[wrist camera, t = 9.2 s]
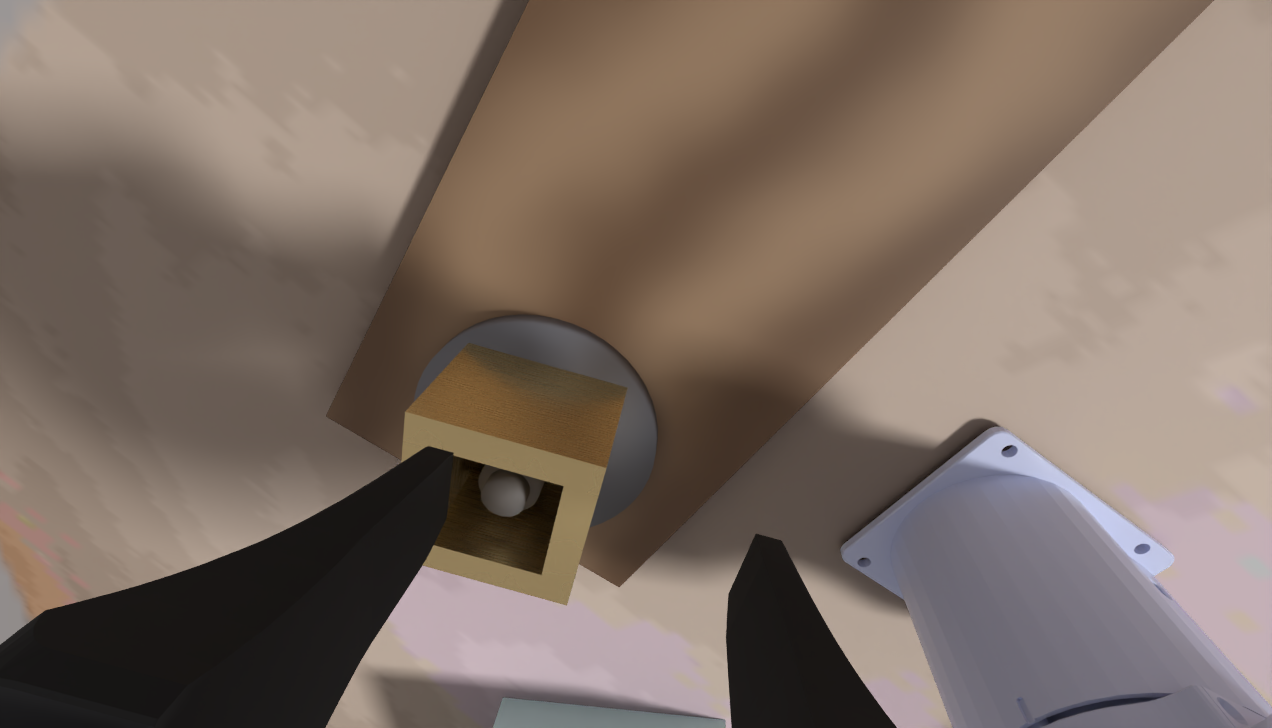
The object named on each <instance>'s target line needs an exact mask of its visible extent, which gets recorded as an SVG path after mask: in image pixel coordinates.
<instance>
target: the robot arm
mask: <svg viewBox="0 0 1272 728" xmlns="http://www.w3.org/2000/svg"><path fill="white" fill-rule="evenodd" d="M1008 445H1012V447H1011V448H1010V449H1008V450H1006V451H1002V449H1003V448H1004V447H1006V446H1008ZM453 454H454V453H453V452H449V451H446V450H442V449H438V448H434V447H431V446H427V447H425V448H423V449H422V450H420V451H419V452H417V453H416V454H414V455H412V456H411V457H409V458H408V459H406V460H405V461H403V462H402V463H400V464H399V465H397V466H396V467H394V468H393V469H391V470H390V471H388V472H387V473H385V474H383V475H382V476H380V477H379V478H377V479H376V480H374V481H372V482H371V483H369V484H367V485H366V486H364V487H363V488H361V489H359V490H358V491H356V492H354V493H353V494H351V495H349V496H348V497H346V498H344V499H343V500H341V501H339V502H337V503H335V504H334V505H332V506H330V507H328V508H326V509H325V510H323V511H321V512H319V513H317V514H315V515H314V516H312V517H310V518H308V519H306V520H304V521H302V522H300V523H298V524H296V525H294V526H292V527H290V528H288V529H286V530H284V531H282V532H280V533H278V534H276V535H273V536H271V537H269V538H267V539H265V540H263V541H260V542H258V543H256V544H253V545H251V546H248V547H246V548H243V549H241V550H238V551H236V552H233V553H230V554H228V555H225V556H223V557H220V558H218V559H215V560H213V561H210V562H208V563H205V564H202V565H200V566H197V567H194V568H191V569H188V570H185V571H182V572H179V573H176V574H173V575H171V576H167V577H164V578H161V579H158V580H155V581H152V582H148V583H145V584H142V585H139V586H135V587H132V588H129V589H125V590H122V591H118V592H115V593H111V594H107V595H103V596H99V597H96V598H92V599H88V600H84V601H81V602H77V603H73V604H69V605H65V606H62V607H57V608H53V609H49V610H45V611H44V612H43V613H41V614H40V615H39V616H37V617H36V618H34V619H33V620H32V621H30V622H29V623H28V624H26V625H25V626H24V627H22V628H21V629H20V630H18V631H17V632H16V633H15V634H13V635H12V636H11V637H10V638H8V639H7V640H6V641H5V642H3V643H2V644H1V645H0V728H325V727H326V725H327V723H328V721H329V719H330V717H331V716H332V714H333V712H334V710H335V708H336V706H337V704H338V702H339V700H340V698H341V696H342V695H343V693H344V691H345V689H346V687H347V685H348V683H349V681H350V680H351V678H352V676H353V674H354V672H355V670H356V668H357V666H358V665H359V663H360V661H361V659H362V658H363V656H364V655H365V653H366V651H367V650H368V648H369V646H370V645H371V643H372V641H373V640H374V638H375V637H376V635H377V634H378V632H379V631H380V629H381V628H382V626H383V625H384V623H385V622H386V620H387V619H388V617H389V616H390V614H391V613H392V611H393V609H394V608H395V606H396V605H397V603H398V602H399V600H400V599H401V597H402V596H403V594H404V593H405V591H406V590H407V588H408V587H409V585H410V584H411V582H412V581H413V579H414V577H415V576H416V574H417V573H418V571H419V570H420V568H421V567H422V565H423V564H424V562H425V560H426V559H427V557H428V555H429V553H430V551H431V549H432V547H433V545H434V543H435V542H436V540H437V537H438V535H439V533H440V531H441V529H442V527H443V525H444V523H445V521H446V519H447V511H448V502H449V492H450V483H451V473H452V464H453ZM1137 545H1138V546H1137ZM840 552H841V555H842V558H843V560H844V561H845V562H846V563H848V564H849V565H851V566H852V567H854V568H855V569H857V570H858V571H860V572H861V573H863V574H865V575H866V576H868V577H869V578H871V579H872V580H874V581H875V582H877V583H879V584H880V585H882V586H883V587H885V588H886V589H888V590H889V591H891V592H892V593H894V594H896V595H897V596H899V597H900V598H902V599H903V600H905V603H906V606H907V608H908V611H909V614H910V616H911V619H912V621H913V624H914V627H915V629H916V632H917V635H918V637H919V640H920V643H921V645H922V648H923V651H924V653H925V656H926V658H927V661H928V664H929V666H930V669H931V672H932V674H933V677H934V680H935V682H936V685H937V688H938V690H939V693H940V695H941V698H942V701H943V703H944V706H945V709H946V711H947V714H948V717H949V719H950V722H951V725H952V727H953V728H1272V707H1271V706H1270V704H1269V703H1268V702H1267V701H1266V700H1265V699H1264V698H1263V697H1262V696H1261V695H1260V693H1259V692H1258V691H1257V690H1256V689H1255V688H1254V687H1253V686H1252V685H1251V683H1250V682H1249V681H1248V680H1247V679H1246V678H1245V677H1244V676H1243V675H1242V673H1241V672H1240V671H1239V670H1238V669H1237V668H1236V667H1235V666H1234V665H1233V663H1232V662H1231V661H1230V660H1229V659H1228V658H1227V657H1226V656H1225V655H1224V653H1223V652H1222V651H1221V650H1220V649H1219V648H1218V647H1217V646H1216V645H1215V643H1214V642H1213V641H1212V640H1211V639H1210V638H1209V637H1208V636H1207V635H1206V633H1205V632H1204V631H1203V630H1202V629H1201V628H1200V627H1199V626H1198V625H1197V624H1196V622H1195V621H1194V620H1193V619H1192V618H1191V617H1190V616H1189V615H1188V614H1187V612H1186V611H1185V610H1184V609H1183V608H1182V607H1181V606H1180V605H1179V604H1178V602H1177V601H1176V600H1175V599H1174V598H1173V597H1172V596H1171V595H1170V594H1169V592H1168V591H1167V590H1166V589H1165V588H1164V587H1163V586H1162V585H1161V584H1160V582H1159V581H1158V580H1157V579H1156V578H1155V577H1154V576H1155V575H1156V574H1158V573H1160V572H1162V571H1163V570H1165V569H1167V568H1168V567H1170V566H1171V565H1172V564H1173V562H1174V556H1173V554H1172V553H1171V552H1170V551H1169V550H1168V549H1167V548H1166V547H1164V546H1163V545H1162V544H1160V543H1159V542H1158V541H1156V540H1155V539H1154V538H1152V537H1151V536H1150V535H1148V534H1147V533H1146V532H1144V531H1143V530H1142V529H1140V528H1139V527H1138V526H1136V525H1135V524H1134V523H1132V522H1131V521H1130V520H1128V519H1127V518H1125V517H1124V516H1123V515H1121V514H1120V513H1119V512H1117V511H1116V510H1115V509H1113V508H1112V507H1111V506H1109V505H1108V504H1107V503H1105V502H1104V501H1103V500H1101V499H1100V498H1099V497H1097V496H1096V495H1095V494H1093V493H1092V492H1091V491H1089V490H1088V489H1087V488H1085V487H1084V486H1083V485H1081V484H1080V483H1078V482H1077V481H1076V480H1074V479H1073V478H1072V477H1070V476H1069V475H1068V474H1066V473H1065V472H1064V471H1062V470H1061V469H1060V468H1058V467H1057V466H1056V465H1054V464H1053V463H1052V462H1050V461H1049V460H1048V459H1046V458H1045V457H1044V456H1042V455H1041V454H1040V453H1038V452H1037V451H1036V450H1034V449H1033V448H1031V447H1030V446H1029V445H1027V444H1026V443H1025V442H1023V441H1022V440H1021V439H1019V438H1018V437H1017V436H1015V435H1014V434H1013V433H1011V432H1010V431H1009V430H1007V429H1005V428H1003V427H992V428H989V429H988V430H986V431H984V432H983V433H982V434H981V435H979V436H978V437H977V438H976V439H974V440H973V441H972V442H971V443H969V444H968V445H967V446H966V447H964V448H963V449H962V450H961V451H959V452H958V453H957V454H956V455H954V456H953V457H952V458H951V459H949V460H948V461H947V462H946V463H944V464H943V465H942V466H941V467H939V468H938V469H937V470H936V471H934V472H933V473H932V474H931V475H929V476H928V477H927V478H926V479H924V480H923V481H922V482H921V483H919V484H918V485H917V486H916V487H914V488H913V489H912V490H911V491H909V492H908V493H907V494H906V495H904V496H903V497H902V498H901V499H899V500H898V501H897V502H896V503H894V504H893V505H892V506H891V507H889V508H888V509H887V510H886V511H884V512H883V513H882V514H881V515H879V516H878V517H877V518H876V519H874V520H873V521H872V522H871V523H869V524H868V525H867V526H866V527H864V528H863V529H862V530H861V531H859V532H858V533H857V534H856V535H854V536H853V537H852V538H851V539H849V540H848V541H847V542H846V543H844V544H843V545H842V547H841V550H840ZM861 558H866V559H864V560H859V559H861ZM726 644H727V662H728V678H729V693H730V708H731V724H732V728H897V727H896V726H895V725H894V724H893V722H892V721H891V720H890V718H889V717H888V716H887V715H886V713H885V712H884V711H883V709H882V708H881V706H880V705H879V704H878V702H877V701H876V700H875V698H874V697H873V695H872V694H871V693H870V691H869V690H868V689H867V687H866V686H865V684H864V683H863V682H862V680H861V679H860V677H859V676H858V674H857V673H856V671H855V670H854V668H853V667H852V665H851V664H850V662H849V661H848V659H847V658H846V656H845V654H844V653H843V651H842V650H841V648H840V647H839V645H838V643H837V642H836V640H835V638H834V637H833V635H832V633H831V632H830V630H829V628H828V626H827V625H826V623H825V621H824V619H823V618H822V616H821V614H820V612H819V611H818V609H817V607H816V605H815V603H814V602H813V600H812V598H811V596H810V594H809V592H808V590H807V588H806V587H805V585H804V583H803V581H802V579H801V577H800V575H799V573H798V571H797V569H796V567H795V565H794V563H793V561H792V560H791V558H790V556H789V554H788V552H787V550H786V548H785V546H784V544H783V542H782V541H781V540H777V539H774V538H770V537H766V536H762V535H759V534H756V535H755V537H754V539H753V541H752V543H751V546H750V548H749V550H748V552H747V555H746V557H745V559H744V561H743V563H742V566H741V568H740V570H739V572H738V574H737V577H736V579H735V581H734V583H733V585H732V588H731V590H730V592H729V596H728V611H727V630H726Z"/></svg>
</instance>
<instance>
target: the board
mask: <svg viewBox="0 0 1272 728" xmlns="http://www.w3.org/2000/svg"><path fill="white" fill-rule="evenodd" d="M1213 1H1214V0H529V2H528V4H527V6H526V8H525V10H524V12H523V14H522V16H521V18H520V20H519V22H518V24H517V26H516V28H515V30H514V32H513V34H512V37H511V39H510V41H509V43H508V45H507V47H506V49H505V51H504V53H503V55H502V57H501V59H500V61H499V63H498V65H497V67H496V69H495V71H494V73H493V75H492V77H491V79H490V82H489V84H488V86H487V88H486V90H485V92H484V94H483V96H482V98H481V100H480V102H479V104H478V106H477V108H476V110H475V112H474V114H473V116H472V118H471V120H470V122H469V124H468V126H467V129H466V131H465V133H464V135H463V137H462V139H461V141H460V143H459V145H458V147H457V149H456V151H455V153H454V155H453V157H452V159H451V161H450V163H449V165H448V167H447V169H446V171H445V174H444V176H443V178H442V180H441V182H440V184H439V186H438V188H437V190H436V192H435V194H434V196H433V198H432V200H431V202H430V204H429V206H428V208H427V210H426V212H425V214H424V216H423V218H422V221H421V223H420V225H419V227H418V229H417V231H416V233H415V235H414V237H413V239H412V241H411V243H410V245H409V247H408V249H407V251H406V253H405V255H404V257H403V259H402V261H401V263H400V265H399V268H398V270H397V272H396V274H395V276H394V278H393V280H392V282H391V284H390V286H389V288H388V290H387V292H386V294H385V296H384V298H383V300H382V302H381V304H380V306H379V308H378V310H377V313H376V315H375V317H374V319H373V321H372V323H371V325H370V327H369V329H368V331H367V333H366V335H365V337H364V339H363V341H362V343H361V345H360V347H359V349H358V351H357V353H356V355H355V357H354V360H353V362H352V364H351V366H350V368H349V370H348V372H347V374H346V376H345V378H344V380H343V382H342V384H341V386H340V388H339V390H338V392H337V394H336V396H335V398H334V400H333V402H332V405H331V407H330V409H329V411H328V413H327V415H326V417H328V418H330V419H331V420H333V421H335V422H337V423H338V424H340V425H342V426H343V427H345V428H347V429H349V430H350V431H352V432H354V433H355V434H357V435H359V436H361V437H362V438H364V439H366V440H367V441H369V442H371V443H373V444H374V445H376V446H378V447H379V448H381V449H383V450H385V451H386V452H388V453H390V454H391V455H393V456H395V457H397V458H398V459H400V460H402V447H403V433H404V420H405V411H406V410H407V409H408V408H409V407H410V406H411V405H412V404H413V403H414V401H415V400H416V399H417V398H418V397H419V396H420V395H421V394H422V393H423V392H424V391H425V390H426V388H427V387H428V386H429V385H430V384H431V383H432V382H433V381H434V380H435V379H436V378H437V376H438V375H439V374H440V373H441V372H442V371H443V370H444V369H445V368H446V367H447V366H448V365H449V363H450V362H451V361H452V360H453V359H454V358H455V357H456V356H457V355H458V354H459V353H460V351H461V350H462V349H463V348H464V347H465V346H466V345H467V344H468V343H471V344H475V345H478V346H482V347H485V348H489V349H492V350H496V351H499V352H503V353H506V354H510V355H514V356H517V357H521V358H524V359H528V360H531V361H535V362H538V363H542V364H546V365H549V366H553V367H556V368H560V369H563V370H567V371H570V372H574V373H577V374H581V375H585V376H588V377H592V378H595V379H599V380H602V381H606V382H609V383H613V384H616V385H620V386H624V387H627V388H628V389H627V392H626V396H625V400H624V404H623V408H622V411H621V415H620V419H619V423H618V427H617V430H616V434H615V438H614V442H613V446H612V449H611V453H610V457H609V461H608V465H607V468H606V472H605V475H604V479H603V482H602V486H601V489H600V492H599V496H598V499H597V503H596V506H595V510H594V513H593V517H592V520H591V523H590V527H589V530H588V534H587V537H586V541H585V544H584V548H583V551H582V555H581V558H580V561H579V564H580V565H582V566H583V567H585V568H587V569H589V570H590V571H592V572H594V573H595V574H597V575H599V576H601V577H602V578H604V579H606V580H607V581H609V582H611V583H613V584H614V585H616V586H618V587H620V586H621V585H622V584H623V583H624V582H625V581H626V580H627V579H628V578H629V577H630V576H631V575H632V574H633V573H634V572H635V571H636V570H637V569H638V568H639V567H640V566H641V565H642V564H643V563H644V562H645V561H646V560H647V559H648V558H649V557H650V556H651V555H652V554H653V553H655V552H656V551H657V550H658V549H659V548H660V547H661V546H662V545H663V544H664V543H665V542H666V541H667V540H668V539H669V538H670V537H671V536H672V535H673V534H674V533H675V532H676V531H677V530H678V529H679V528H680V527H681V526H682V525H683V524H684V523H685V522H686V521H687V520H688V519H689V518H690V517H691V516H692V515H693V514H694V513H695V512H696V511H697V510H698V509H699V508H700V507H701V506H702V505H703V504H704V503H705V502H706V501H707V500H708V499H709V498H710V497H711V496H712V495H713V494H714V493H715V492H716V491H717V490H718V489H719V488H720V487H721V486H722V485H723V484H724V483H725V482H726V481H727V480H728V479H729V478H731V477H732V476H733V475H734V474H735V473H736V472H737V471H738V470H739V469H740V468H741V467H742V466H743V465H744V464H745V463H746V462H747V461H748V460H749V459H750V458H751V457H752V456H753V455H754V454H755V453H756V452H757V451H758V450H759V449H760V448H761V447H762V446H763V445H764V444H765V443H766V442H767V441H768V440H769V439H770V438H771V437H772V436H773V435H774V434H775V433H776V432H777V431H778V430H779V429H780V428H781V427H782V426H783V425H784V424H785V423H786V422H787V421H788V420H789V419H790V418H791V417H792V416H793V415H794V414H795V413H796V412H797V411H798V410H799V409H800V408H801V407H802V406H803V405H804V404H805V403H806V402H808V401H809V400H810V399H811V398H812V397H813V396H814V395H815V394H816V393H817V392H818V391H819V390H820V389H821V388H822V387H823V386H824V385H825V384H826V383H827V382H828V381H829V380H830V379H831V378H832V377H833V376H834V375H835V374H836V373H837V372H838V371H839V370H840V369H841V368H842V367H843V366H844V365H845V364H846V363H847V362H848V361H849V360H850V359H851V358H852V357H853V356H854V355H855V354H856V353H857V352H858V351H859V350H860V349H861V348H862V347H863V346H864V345H865V344H866V343H867V342H868V341H869V340H870V339H871V338H872V337H873V336H874V335H875V334H876V333H877V332H878V331H879V330H880V329H881V328H882V327H884V326H885V325H886V324H887V323H888V322H889V321H890V320H891V319H892V318H893V317H894V316H895V315H896V314H897V313H898V312H899V311H900V310H901V309H902V308H903V307H904V306H905V305H906V304H907V303H908V302H909V301H910V300H911V299H912V298H913V297H914V296H915V295H916V294H917V293H918V292H919V291H920V290H921V289H922V288H923V287H924V286H925V285H926V284H927V283H928V282H929V281H930V280H931V279H932V278H933V277H934V276H935V275H936V274H937V273H938V272H939V271H940V270H941V269H942V268H943V267H944V266H945V265H946V264H947V263H948V262H949V261H950V260H951V259H952V258H953V257H954V256H955V255H956V254H957V253H958V252H959V251H961V250H962V249H963V248H964V247H965V246H966V245H967V244H968V243H969V242H970V241H971V240H972V239H973V238H974V237H975V236H976V235H977V234H978V233H979V232H980V231H981V230H982V229H983V228H984V227H985V226H986V225H987V224H988V223H989V222H990V221H991V220H992V219H993V218H994V217H995V216H996V215H997V214H998V213H999V212H1000V211H1001V210H1002V209H1003V208H1004V207H1005V206H1006V205H1007V204H1008V203H1009V202H1010V201H1011V200H1012V199H1013V198H1014V197H1015V196H1016V195H1017V194H1018V193H1019V192H1020V191H1021V190H1022V189H1023V188H1024V187H1025V186H1026V185H1027V184H1028V183H1029V182H1030V181H1031V180H1032V179H1033V178H1034V177H1035V176H1037V175H1038V174H1039V173H1040V172H1041V171H1042V170H1043V169H1044V168H1045V167H1046V166H1047V165H1048V164H1049V163H1050V162H1051V161H1052V160H1053V159H1054V158H1055V157H1056V156H1057V155H1058V154H1059V153H1060V152H1061V151H1062V150H1063V149H1064V148H1065V147H1066V146H1067V145H1068V144H1069V143H1070V142H1071V141H1072V140H1073V139H1074V138H1075V137H1076V136H1077V135H1078V134H1079V133H1080V132H1081V131H1082V130H1083V129H1084V128H1085V127H1086V126H1087V125H1088V124H1089V123H1090V122H1091V121H1092V120H1093V119H1094V118H1095V117H1096V116H1097V115H1098V114H1099V113H1100V112H1101V111H1102V110H1103V109H1104V108H1105V107H1106V106H1107V105H1108V104H1109V103H1110V102H1111V101H1113V100H1114V99H1115V98H1116V97H1117V96H1118V95H1119V94H1120V93H1121V92H1122V91H1123V90H1124V89H1125V88H1126V87H1127V86H1128V85H1129V84H1130V83H1131V82H1132V81H1133V80H1134V79H1135V78H1136V77H1137V76H1138V75H1139V74H1140V73H1141V72H1142V71H1143V70H1144V69H1145V68H1146V67H1147V66H1148V65H1149V64H1150V63H1151V62H1152V61H1153V60H1154V59H1155V58H1156V57H1157V56H1158V55H1159V54H1160V53H1161V52H1162V51H1163V50H1164V49H1165V48H1166V47H1167V46H1168V45H1169V44H1170V43H1171V42H1172V41H1173V40H1174V39H1175V38H1176V37H1177V36H1178V35H1179V34H1180V33H1181V32H1182V31H1183V30H1184V29H1185V28H1186V27H1187V26H1188V25H1190V24H1191V23H1192V22H1193V21H1194V20H1195V19H1196V18H1197V17H1198V16H1199V15H1200V14H1201V13H1202V12H1203V11H1204V10H1205V9H1206V8H1207V7H1208V6H1209V5H1210V4H1211V3H1212V2H1213ZM544 482H545V481H543V480H540V479H536V478H533V477H529V476H525V475H522V474H518V473H515V472H511V471H508V470H504V469H500V468H497V467H493V466H490V465H486V464H485V466H484V468H483V470H482V471H481V473H480V475H479V479H478V483H479V488H480V491H481V500H482V502H483V504H484V506H485V507H486V508H487V509H488V510H489V511H491V512H492V513H494V514H496V515H499V516H504V517H510V516H515V515H517V514H519V513H520V512H521V511H522V510H525V509H528V508H530V507H531V506H533V505H534V504H535V502H536V501H537V499H538V497H539V494H540V492H541V490H542V487H543V485H544Z"/></svg>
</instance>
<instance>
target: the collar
mask: <svg viewBox="0 0 1272 728" xmlns="http://www.w3.org/2000/svg"><path fill="white" fill-rule="evenodd" d="M627 389H628V388H627V387H624V386H620V385H616V384H613V383H609V382H606V381H602V380H599V379H595V378H592V377H588V376H585V375H581V374H577V373H574V372H570V371H567V370H563V369H560V368H556V367H553V366H549V365H546V364H542V363H538V362H535V361H531V360H528V359H524V358H521V357H517V356H514V355H510V354H506V353H503V352H499V351H496V350H492V349H489V348H485V347H482V346H478V345H475V344H471V343H468V344H467V345H466V346H465V347H464V348H463V349H462V350H461V351H460V353H459V354H458V355H457V356H456V357H455V358H454V359H453V360H452V361H451V362H450V363H449V365H448V366H447V367H446V368H445V369H444V370H443V371H442V372H441V373H440V374H439V375H438V376H437V378H436V379H435V380H434V381H433V382H432V383H431V384H430V385H429V386H428V387H427V388H426V390H425V391H424V392H423V393H422V394H421V395H420V396H419V397H418V398H417V399H416V400H415V401H414V403H413V404H412V405H411V406H410V407H409V408H408V409H407V410H406V411H405V420H404V433H403V447H402V460H401V463H402V462H403V461H405V460H406V459H408V458H409V457H411V456H412V455H414V454H416V453H417V452H419V451H420V450H422V449H423V448H425V447H427V446H431V447H434V448H438V449H442V450H446V451H449V452H453V453H454V454H453V464H452V473H451V483H450V492H449V502H448V511H447V519H446V521H445V523H444V525H443V527H442V529H441V531H440V533H439V535H438V537H437V540H436V542H435V543H434V545H433V547H432V549H431V551H430V553H429V555H428V557H427V559H426V560H425V562H424V564H423V566H426V567H430V568H434V569H437V570H441V571H444V572H448V573H452V574H455V575H459V576H462V577H466V578H470V579H473V580H477V581H481V582H484V583H488V584H491V585H495V586H499V587H502V588H506V589H509V590H513V591H517V592H520V593H524V594H528V595H531V596H535V597H538V598H542V599H546V600H549V601H553V602H556V603H560V604H564V605H567V603H568V599H569V596H570V592H571V589H572V586H573V582H574V579H575V575H576V572H577V568H578V565H579V561H580V558H581V555H582V551H583V548H584V544H585V541H586V537H587V534H588V530H589V527H590V523H591V520H592V517H593V513H594V510H595V506H596V503H597V499H598V496H599V492H600V489H601V486H602V482H603V479H604V475H605V472H606V468H607V465H608V461H609V457H610V453H611V449H612V446H613V442H614V438H615V434H616V430H617V427H618V423H619V419H620V415H621V411H622V408H623V404H624V400H625V396H626V392H627ZM485 464H486V465H490V466H493V467H497V468H500V469H504V470H508V471H511V472H515V473H518V474H522V475H525V476H529V477H533V478H536V479H540V480H543V481H545V482H544V485H543V487H542V490H541V492H540V494H539V497H538V499H537V501H536V502H535V504H534V505H533V506H531V507H530V508H528V509H525V510H522V511H521V512H520V513H519V514H517V515H515V516H510V517H504V516H499V515H496V514H494V513H492V512H491V511H489V510H488V509H487V508H486V507H485V506H484V504H483V502H482V500H481V491H480V488H479V483H478V479H479V475H480V473H481V471H482V470H483V468H484V466H485Z"/></svg>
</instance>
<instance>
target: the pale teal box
mask: <svg viewBox="0 0 1272 728" xmlns="http://www.w3.org/2000/svg"><path fill="white" fill-rule="evenodd" d="M493 728H726V724H725V720H722V719H712V718H702V717H692V716H682V715H673V714H663V713H653V712H643V711H633V710H623V709H613V708H603V707H593V706H583V705H574V704H564V703H554V702H544V701H534V700H524V699H514V698H504V697H503V699H502V702H501V705H500V708H499V711H498V714H497V717H496V720H495V723H494V726H493Z"/></svg>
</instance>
